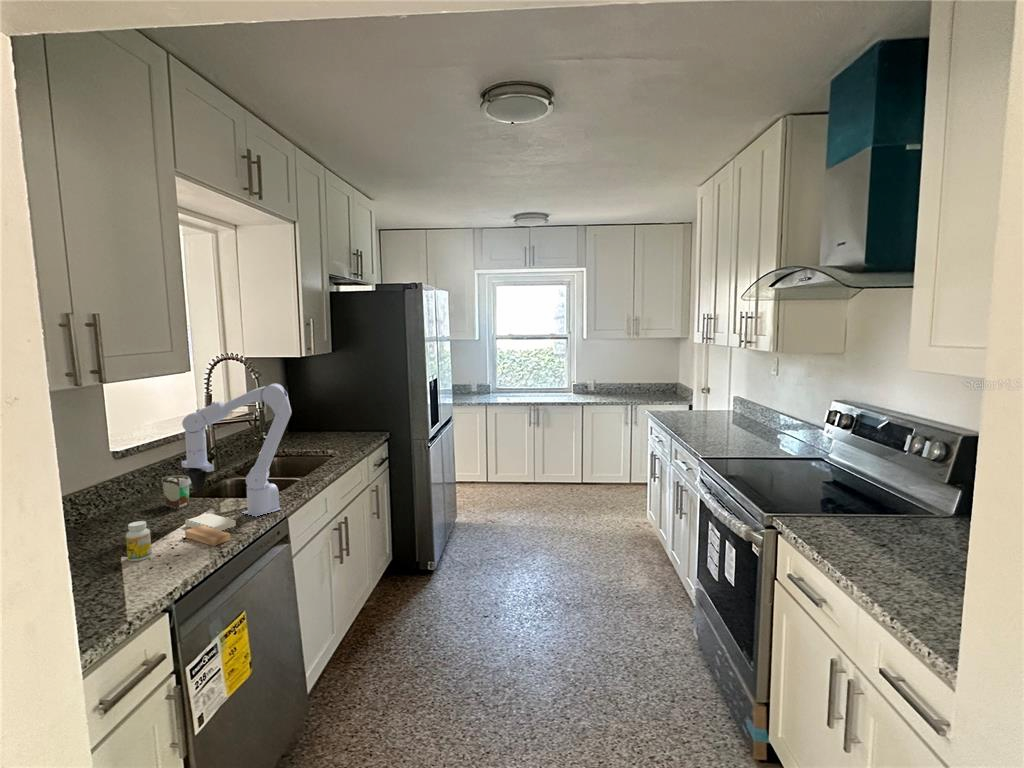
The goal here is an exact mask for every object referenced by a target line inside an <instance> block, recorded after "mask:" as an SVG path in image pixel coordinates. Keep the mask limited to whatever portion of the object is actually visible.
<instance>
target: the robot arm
mask: <svg viewBox="0 0 1024 768" xmlns="http://www.w3.org/2000/svg"><path fill="white" fill-rule="evenodd" d="M253 402H254V403H260V404H261V403H263V402H264V403H265V404H266V405H267V406H269V407H270V408H271V410H272V411H273V413H274V415H275V416H274V418H273V420H272V422H271V425H270V427H269V430H268V433H267V435H266V437H265V439H264V442H263V445H262V447H261V450H260V452H259V455H258V457H257V459H256V462H255V463H254V465H253V466H252V467H251V469H250V470H249V472H248V474H247V475H246V477H245V484H246V502H247V503H246V505H247V510H245V511H242V512H241V514H242V513H244V514H243V515H245V514H248V515H247V516H249V515H252V516H251V517H253V516H256V517H255V518H258V517H257V516H260V515H263V514H266V515H268V514H267V513H269V514H271V512H272V513H274V512H277V511H279V510H281V509H282V508H281V507H280V496H279V495H280V494H279V492H280V491H279V487H278V486H277V485H276V484H275V483H272V482H271V483H270V482H269V480H268V479H269V477H270V473H271V472H270V467H271V464H272V462H273V459H274V456H275V454H276V452H277V450H278V447H279V444H280V442H281V440H282V437H283V435H284V432H285V430H286V427H287V425H288V423H289V421H290V418H291V416H292V407H291V404H290V400H289V394H288V392H287V390H286V389H285V388H284V386H283V385H282V384H279V383H278V382H277V383H276V382H275V383H270V384H269V385H268V386H266V385H265V386H261V387H258V388H255V389H253V390H250V391H248V392H246V393H244V394H242V395H239V396H238V397H235V398H233V399H231V400H229V401H227V402H223V401H217V402H216V401H213V402H210V405H208V406H205V407H204V408H201V409H200V408H198V409H196V410H195V412H191V413H190V414H188V415H186V416H185V417H184V418H183V419H182V427H183V429H184V430H185V431H184V432H185V433H184V434H185V437H184V439H185V452H186V455H185V456H186V460H181V468H184V469H186V470H185V474H186V476H189V478H190V480H191V485H192V487H193V491H194V492H196V493H197V492H202V491H204V487H205V485H206V484H205V483H206V479H207V478H208V475H209V473H210V472H214V471H215V466H214V464H212V463H210V462H209V461H208V453H207V451H208V450H207V449H208V448H207V435H206V426H211V425H213V424H216V423H217V422H219V421H221V420H222V421H223V420H224V419H226V418H228V417H229V415H230V412H232V411H235V410H237V409H238V408H241V407H243V406H246V405H248V404H251V403H253ZM188 468H189V469H188ZM187 469H188V470H187ZM263 516H264V515H263ZM260 517H261V516H260Z"/></svg>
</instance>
